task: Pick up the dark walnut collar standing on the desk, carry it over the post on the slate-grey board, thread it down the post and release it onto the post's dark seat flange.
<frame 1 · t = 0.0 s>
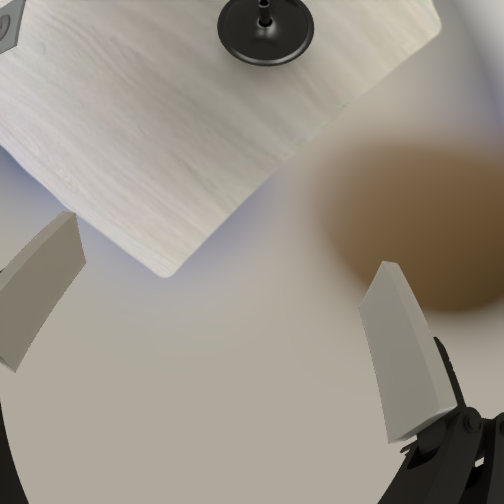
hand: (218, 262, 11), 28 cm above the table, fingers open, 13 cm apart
drinking cup: (267, 47, 27), on the table
post: (4, 27, 18), on the table
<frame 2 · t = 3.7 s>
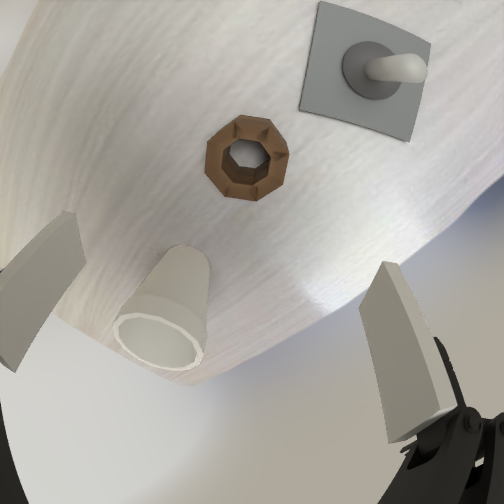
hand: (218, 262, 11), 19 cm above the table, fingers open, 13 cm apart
foam cup: (186, 264, 35), on the table
collar: (250, 149, 26), on the table
post: (368, 70, 20), on the table
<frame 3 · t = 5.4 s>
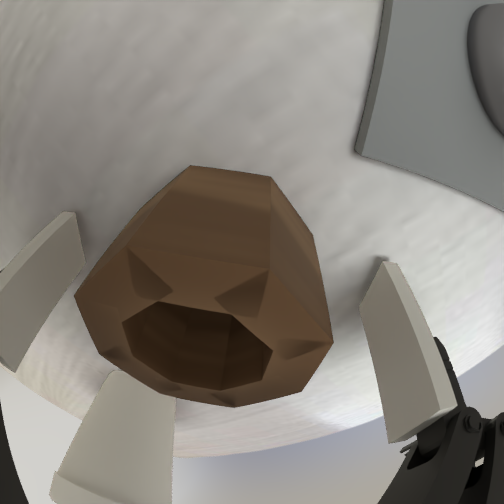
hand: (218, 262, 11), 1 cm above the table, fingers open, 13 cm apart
foam cup: (142, 387, 20), on the table
collar: (221, 250, 11), on the table
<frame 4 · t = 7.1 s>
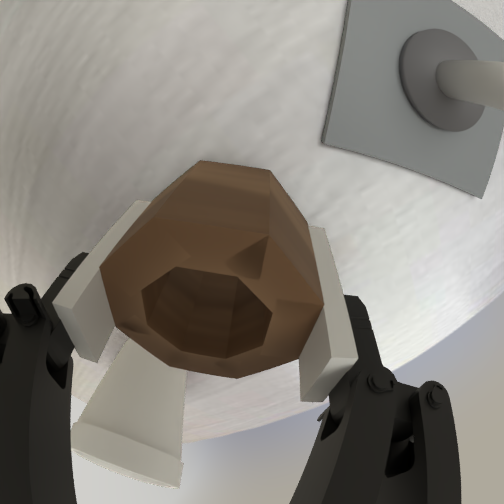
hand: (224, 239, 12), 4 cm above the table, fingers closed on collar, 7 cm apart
foam cup: (157, 350, 25), on the table
collar: (225, 236, 12), point 4 cm above the table, touching gripper
post: (436, 78, 10), on the table
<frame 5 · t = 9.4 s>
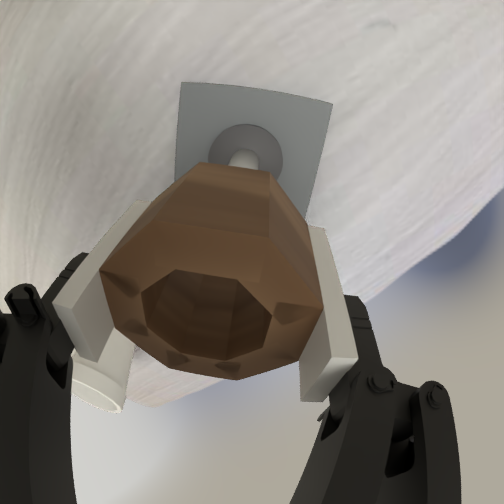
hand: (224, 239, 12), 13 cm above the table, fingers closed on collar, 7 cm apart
foam cup: (120, 323, 38), on the table
collar: (225, 238, 12), point 12 cm above the table, touching gripper
post: (246, 156, 22), on the table
when the fingers open (2 cm above the table, at t = 11.8 s): collar stays where it is, resting on post.
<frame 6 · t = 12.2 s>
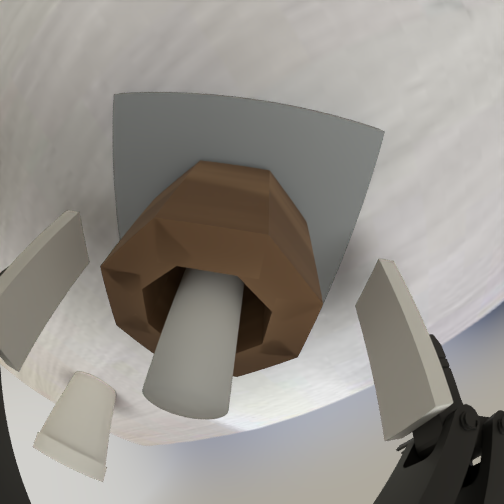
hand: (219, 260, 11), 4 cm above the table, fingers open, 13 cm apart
foam cup: (95, 383, 29), on the table
collar: (225, 236, 13), point 2 cm above the table, touching post
post: (230, 218, 14), on the table
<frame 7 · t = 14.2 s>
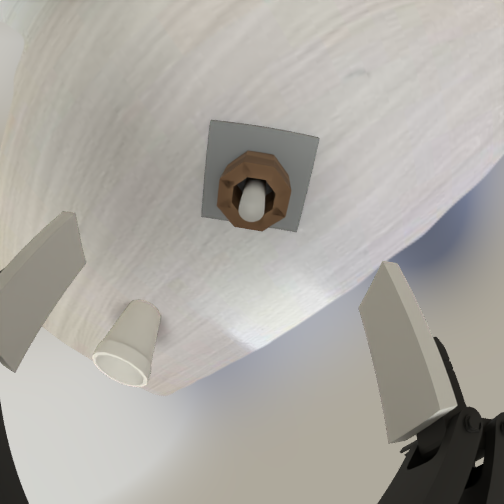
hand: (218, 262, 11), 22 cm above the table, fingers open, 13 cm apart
foam cup: (145, 311, 46), on the table
collar: (256, 181, 30), point 2 cm above the table, touching post
post: (256, 176, 31), on the table
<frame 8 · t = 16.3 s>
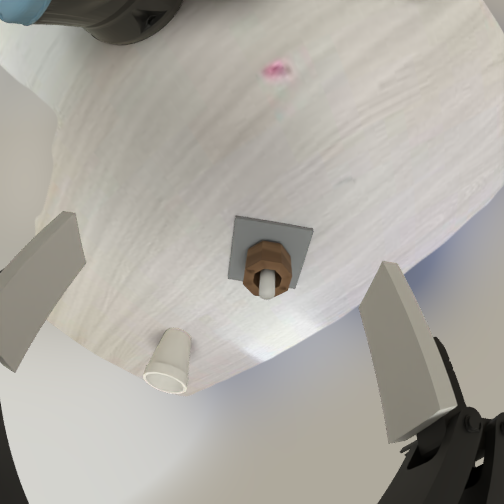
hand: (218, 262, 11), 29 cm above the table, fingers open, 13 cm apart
foam cup: (178, 335, 60), on the table
collar: (267, 259, 44), point 2 cm above the table, touching post
post: (268, 253, 45), on the table
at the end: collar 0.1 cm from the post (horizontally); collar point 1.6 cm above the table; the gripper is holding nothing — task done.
